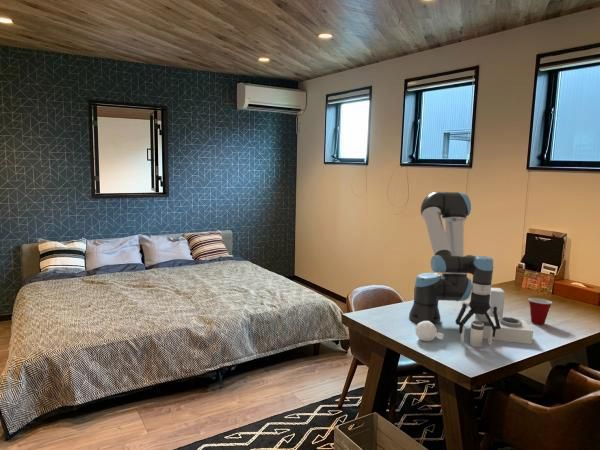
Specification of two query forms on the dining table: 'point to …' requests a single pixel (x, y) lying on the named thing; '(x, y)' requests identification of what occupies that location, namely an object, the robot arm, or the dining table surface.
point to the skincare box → (496, 301)
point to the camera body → (507, 329)
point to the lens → (476, 334)
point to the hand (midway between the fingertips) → (475, 341)
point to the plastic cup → (539, 310)
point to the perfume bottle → (427, 331)
